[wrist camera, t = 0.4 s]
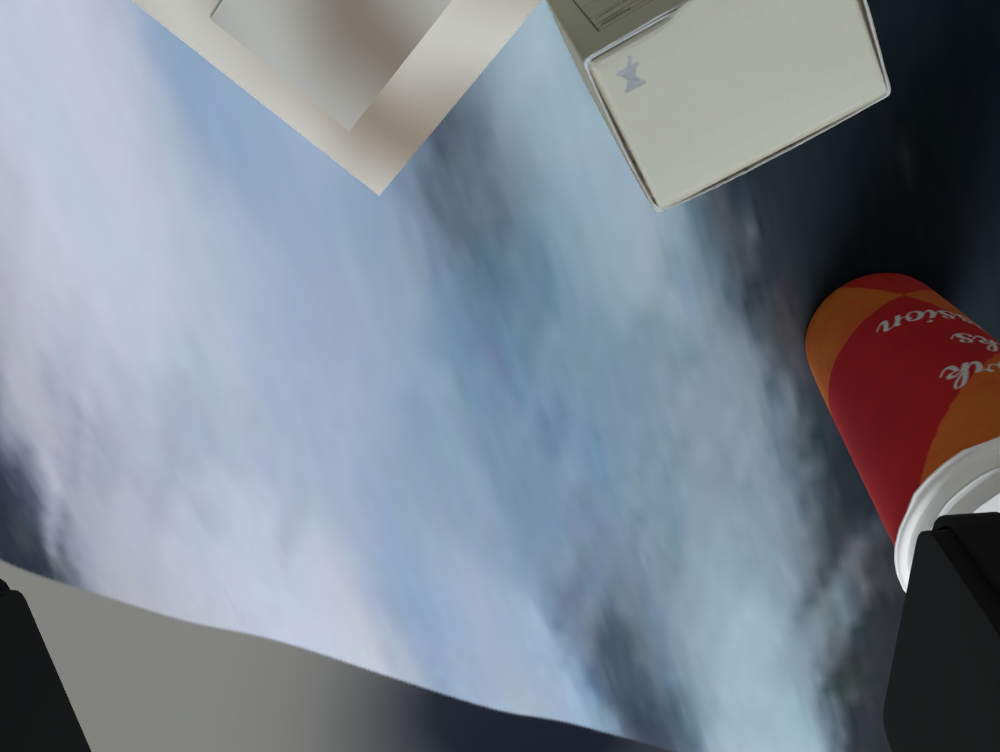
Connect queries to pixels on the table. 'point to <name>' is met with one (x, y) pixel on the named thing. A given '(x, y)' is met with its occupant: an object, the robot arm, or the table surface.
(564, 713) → the table surface
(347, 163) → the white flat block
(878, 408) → the paper cup
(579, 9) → the skincare box
